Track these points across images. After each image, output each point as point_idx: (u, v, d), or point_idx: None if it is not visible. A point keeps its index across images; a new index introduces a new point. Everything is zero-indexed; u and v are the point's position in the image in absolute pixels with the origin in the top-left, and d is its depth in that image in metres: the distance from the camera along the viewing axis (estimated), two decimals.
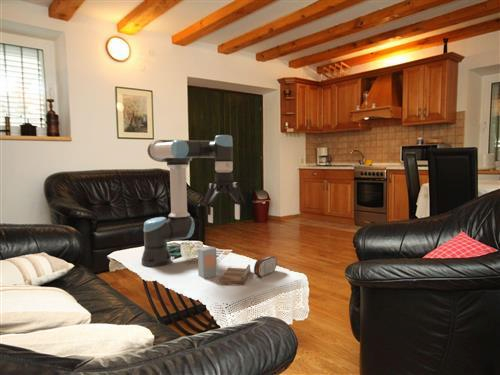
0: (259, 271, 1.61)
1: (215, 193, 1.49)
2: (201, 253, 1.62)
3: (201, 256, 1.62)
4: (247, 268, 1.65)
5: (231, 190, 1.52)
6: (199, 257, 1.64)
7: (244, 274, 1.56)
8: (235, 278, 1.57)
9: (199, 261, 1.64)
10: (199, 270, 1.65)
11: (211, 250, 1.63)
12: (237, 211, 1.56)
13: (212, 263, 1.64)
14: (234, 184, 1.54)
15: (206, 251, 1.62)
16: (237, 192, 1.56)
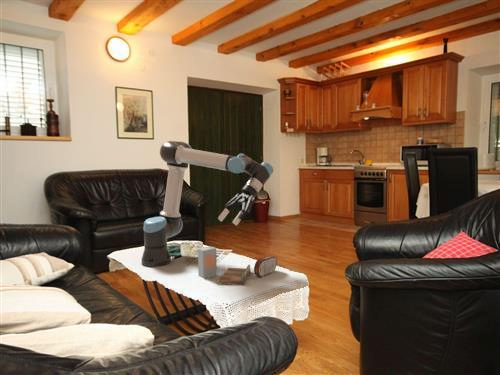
0: (259, 271, 1.61)
1: (246, 203, 1.70)
2: (201, 253, 1.62)
3: (201, 256, 1.62)
4: (247, 268, 1.65)
5: None
6: (199, 257, 1.64)
7: (244, 274, 1.56)
8: (235, 278, 1.57)
9: (199, 261, 1.64)
10: (199, 270, 1.65)
11: (211, 250, 1.63)
12: (225, 215, 1.77)
13: (212, 263, 1.64)
14: None
15: (206, 251, 1.62)
16: None
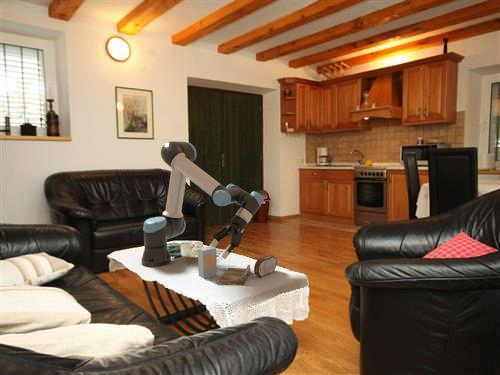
0: (259, 271, 1.61)
1: (235, 235, 1.67)
2: (201, 253, 1.62)
3: (201, 256, 1.62)
4: (247, 268, 1.65)
5: None
6: (199, 257, 1.64)
7: (244, 274, 1.56)
8: (235, 278, 1.57)
9: (199, 261, 1.64)
10: (199, 270, 1.65)
11: (211, 250, 1.63)
12: (214, 246, 1.73)
13: (212, 263, 1.64)
14: None
15: (206, 251, 1.62)
16: (223, 232, 1.76)
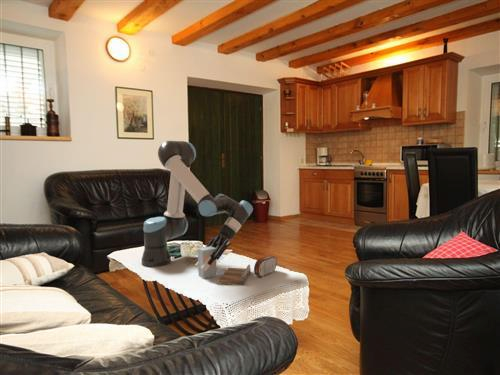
0: (259, 271, 1.61)
1: (220, 246, 1.66)
2: (201, 253, 1.62)
3: (201, 256, 1.62)
4: (247, 268, 1.65)
5: None
6: (199, 257, 1.64)
7: (244, 274, 1.56)
8: (235, 278, 1.57)
9: (199, 261, 1.64)
10: (199, 270, 1.65)
11: (211, 250, 1.64)
12: None
13: (212, 263, 1.64)
14: None
15: (206, 251, 1.62)
16: (211, 244, 1.72)
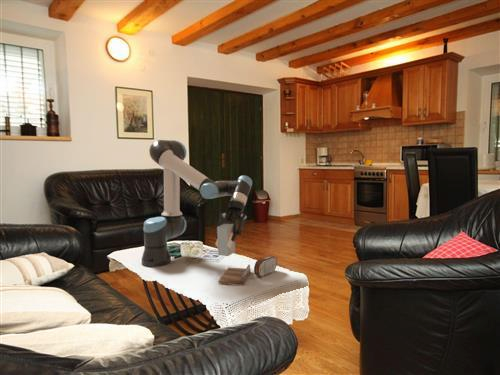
0: (259, 271, 1.61)
1: (237, 222, 1.64)
2: (224, 231, 1.57)
3: (224, 234, 1.58)
4: (247, 268, 1.65)
5: None
6: (220, 235, 1.59)
7: (244, 274, 1.56)
8: (235, 278, 1.57)
9: (220, 240, 1.59)
10: (220, 249, 1.59)
11: (231, 226, 1.61)
12: None
13: None
14: None
15: (228, 228, 1.58)
16: (221, 222, 1.67)
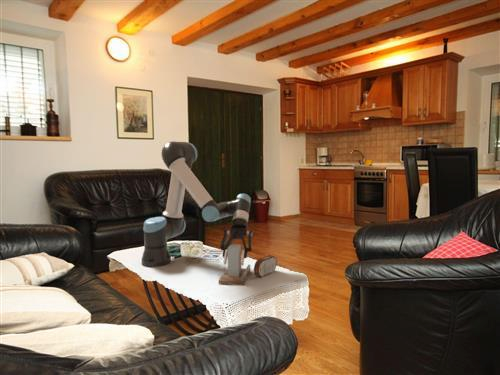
0: (259, 271, 1.61)
1: None
2: (235, 252, 1.58)
3: (235, 255, 1.58)
4: (247, 268, 1.65)
5: None
6: (230, 256, 1.59)
7: (244, 274, 1.56)
8: (235, 278, 1.57)
9: (230, 261, 1.59)
10: (230, 270, 1.59)
11: (240, 247, 1.62)
12: (226, 257, 1.62)
13: (240, 260, 1.63)
14: None
15: (239, 249, 1.60)
16: (225, 239, 1.68)
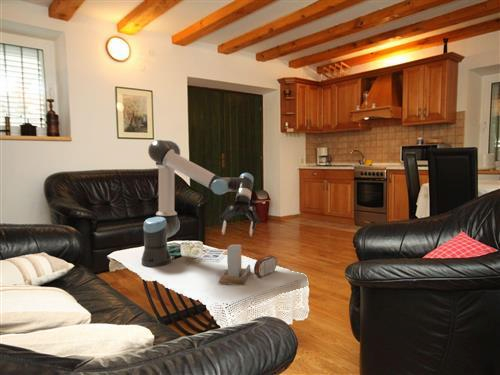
0: (259, 271, 1.61)
1: None
2: (235, 252, 1.58)
3: (234, 255, 1.58)
4: (247, 268, 1.65)
5: None
6: (230, 257, 1.59)
7: (244, 274, 1.56)
8: (235, 278, 1.57)
9: (230, 261, 1.59)
10: (229, 270, 1.59)
11: (240, 247, 1.62)
12: (225, 227, 1.73)
13: (240, 260, 1.63)
14: None
15: (239, 249, 1.60)
16: (227, 213, 1.78)
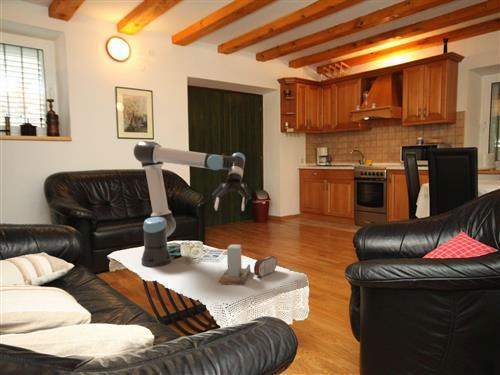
0: (259, 271, 1.61)
1: None
2: (235, 252, 1.58)
3: (234, 255, 1.58)
4: (247, 268, 1.65)
5: None
6: (230, 257, 1.59)
7: (244, 274, 1.56)
8: (235, 278, 1.57)
9: (230, 261, 1.59)
10: (229, 270, 1.59)
11: (240, 247, 1.62)
12: (217, 204, 1.78)
13: (240, 260, 1.63)
14: None
15: (239, 249, 1.60)
16: (219, 190, 1.83)
